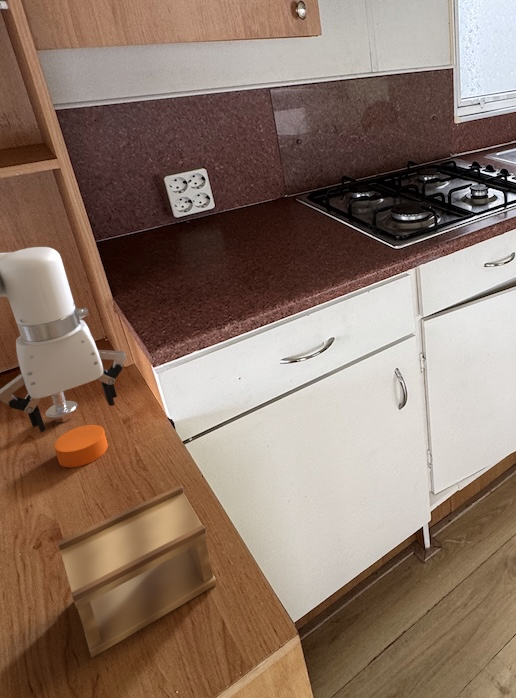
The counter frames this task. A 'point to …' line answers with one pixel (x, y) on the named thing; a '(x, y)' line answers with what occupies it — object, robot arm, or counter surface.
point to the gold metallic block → (136, 567)
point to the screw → (61, 408)
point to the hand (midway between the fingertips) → (77, 414)
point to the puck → (81, 446)
